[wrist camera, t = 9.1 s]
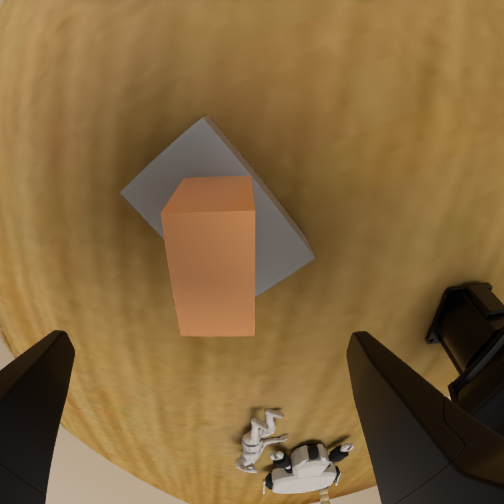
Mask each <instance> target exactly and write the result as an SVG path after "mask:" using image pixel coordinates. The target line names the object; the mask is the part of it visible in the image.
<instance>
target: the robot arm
mask: <svg viewBox="0 0 504 504" xmlns="http://www.w3.org/2000/svg"><path fill="white" fill-rule="evenodd" d="M491 290H492V285H491V284H490V283H487V284H477V285H469V286H461V287H452V288H449V289H447V290H446V292H445V294H444V297H443V299H442V302H441V304H440V307H439V309H438V312H437V314H436V317H435V319H434V321H433V324H432V326H431V328H430V331H429V333H428V335H427V337H426V342H427V344H433V343H438V342H440V343H441V345H442V346H443V348H444V350H445V351H446V353H447V354H448V356H449V358H450V359H451V361H452V363H453V364H454V366H455V368H456V369H457V371H458V373H459V374H460V376H459V377H458V378H457V379H456V380H455V381H454V382H451V383H450V384H449V385H448V389H449V393H450V397H451V400H449V399H448V398H447V397H446V396H444V395H443V394H442V393H441V392H440V391H439V390H437V389H436V388H435V387H434V386H432V385H431V384H430V383H429V382H428V381H426V380H425V379H424V378H423V377H422V376H420V375H419V374H418V373H417V372H416V371H414V370H413V369H412V368H411V367H409V366H408V365H407V364H406V363H405V362H403V361H402V360H401V359H400V358H398V357H397V356H396V355H395V354H394V353H392V352H391V351H390V350H389V349H387V348H386V347H385V346H384V345H383V344H381V343H380V342H379V341H378V340H376V339H375V338H374V337H373V336H372V335H370V334H369V333H368V332H366V331H357V332H353V333H352V335H351V338H350V342H349V345H348V348H347V362H348V367H349V373H350V378H351V384H352V390H353V396H354V400H355V404H356V408H357V411H358V415H359V418H360V422H361V425H362V429H363V432H364V436H365V440H366V443H367V447H368V451H369V455H370V458H371V462H372V466H373V470H374V474H375V478H376V482H377V486H378V490H379V494H380V498H381V503H382V504H504V305H503V304H502V302H501V301H500V300H499V299H498V298H497V297H496V296H495V295H494V294H493V293H492V292H491ZM74 357H75V350H74V347H73V345H72V343H71V341H70V339H69V336H68V334H67V333H66V332H65V331H61V330H54V331H52V332H51V333H50V334H48V335H47V336H46V337H44V338H43V339H41V340H40V341H39V342H37V343H36V344H35V345H33V346H32V347H31V348H29V349H28V350H27V351H25V352H24V353H23V354H21V355H20V356H19V357H17V358H16V359H15V360H13V361H12V362H11V363H9V364H8V365H7V366H6V367H4V368H3V369H2V370H0V504H45V501H46V493H47V485H48V479H49V473H50V467H51V462H52V457H53V451H54V447H55V442H56V437H57V433H58V429H59V424H60V420H61V416H62V412H63V408H64V405H65V401H66V397H67V393H68V388H69V383H70V377H71V372H72V367H73V362H74Z"/></svg>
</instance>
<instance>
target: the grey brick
mask: <svg viewBox="0 0 504 504" xmlns="http://www.w3.org/2000/svg"><path fill="white" fill-rule="evenodd" d="M214 176H251V180H252V188H253V196H254V204H255V297H257V296H258V295H260V294H262V293H263V292H265V291H266V290H268V289H269V288H271V287H273V286H274V285H276V284H277V283H279V282H280V281H282V280H283V279H285V278H287V277H288V276H290V275H291V274H293V273H294V272H296V271H297V270H299V269H300V268H302V267H303V266H305V265H306V264H308V263H309V262H311V261H312V260H314V259H315V256H314V253H313V251H312V249H311V246H310V244H309V242H308V240H307V238H306V237H305V235H304V234H303V233H302V231H301V230H300V229H299V227H298V226H297V225H296V223H295V222H294V221H293V219H292V218H291V217H290V215H289V214H288V213H287V212H286V210H285V209H284V208H283V206H282V205H281V204H280V203H279V201H278V200H277V199H276V197H275V196H274V195H273V194H272V192H271V191H270V190H269V189H268V187H267V186H266V185H265V183H264V182H263V181H262V180H261V178H260V177H259V176H258V175H257V173H256V172H255V171H254V170H253V169H252V167H251V166H250V165H249V164H248V162H247V161H246V160H245V159H244V157H243V156H242V155H241V154H240V153H239V151H238V150H237V149H236V148H235V147H234V145H233V144H232V143H231V142H230V141H229V139H228V138H227V137H226V136H225V135H224V133H223V132H222V131H221V130H220V129H219V127H218V126H217V125H216V124H215V123H214V122H213V120H212V119H211V118H210V117H209V116H208V115H207V116H204V117H202V118H201V119H200V120H198V121H197V122H196V123H195V124H194V125H192V126H191V127H190V128H189V129H188V130H186V131H185V132H184V133H183V134H182V135H181V136H179V137H178V138H177V139H176V140H175V141H174V142H173V143H171V144H170V145H169V146H168V147H167V148H166V149H165V150H164V151H162V152H161V153H160V154H159V155H158V156H157V157H156V158H155V159H154V160H153V161H152V162H151V163H149V164H148V165H147V166H146V167H145V168H144V169H143V170H142V171H141V172H140V173H139V174H138V175H137V176H136V177H135V178H134V179H133V180H132V181H131V182H130V183H129V184H128V185H127V186H126V187H125V188H124V189H123V190H122V191H121V192H120V194H121V195H122V196H123V197H124V198H125V199H126V200H127V201H128V202H129V203H130V204H131V205H132V207H133V208H134V209H135V210H136V211H137V212H138V213H139V214H140V215H141V216H142V217H143V218H144V219H145V220H146V221H147V222H148V224H149V225H150V226H151V227H152V228H153V229H154V230H155V231H156V232H157V233H158V234H159V235H160V236H161V237H162V238H163V239H164V235H163V228H162V220H161V212H162V210H163V209H164V207H165V206H166V204H167V203H168V201H169V200H170V198H171V197H172V195H173V194H174V192H175V191H176V189H177V188H178V186H179V185H180V183H181V182H182V180H183V179H184V178H189V177H214Z"/></svg>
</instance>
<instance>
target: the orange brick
mask: <svg viewBox="0 0 504 504" xmlns="http://www.w3.org/2000/svg"><path fill="white" fill-rule="evenodd" d="M161 220H162V228H163V235H164V243H165V250H166V256H167V263H168V269H169V275H170V281H171V287H172V293H173V298H174V304H175V309H176V314H177V319H178V324H179V329H180V334H181V336H255V204H254V196H253V188H252V180H251V176H214V177H189V178H184V179H183V180H182V182H181V183H180V185H179V186H178V188H177V189H176V191H175V192H174V194H173V195H172V197H171V198H170V200H169V201H168V203H167V204H166V206H165V207H164V209H163V210H162V212H161Z"/></svg>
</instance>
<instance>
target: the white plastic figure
mask: <svg viewBox="0 0 504 504" xmlns="http://www.w3.org/2000/svg"><path fill="white" fill-rule="evenodd" d="M265 414H266V422H264V421H260V420H258V419H257V418H252V419H251V424H252V430H250V431H249V432H248V433H246V434H245V435H244V436H243V438H242V444H243V450H242V453H241V455H240V457H239V458H237V459H236V460H235V464H236V466H235V467H237V468H238V469H240V470H242V471H244V472H250V473H258V472H257V470H256V469H255V466H254V464H253V463H255V461H257V460H258V458H259V457H260V455H261V453H262V451H263V449H264V448H265V447H266V445H267V444H271V443H277V442H284V441H286V440H287V439H288V438H289V436H288V437H287V438H284V437H283V436H284V435H282V436H281V437H280V438H278V437H276V438H275V437H274V438H268V439H264V440H263V439H262V437H267V436H269V435H271V434H273V433H274V432H275V430H276V423H275V422H274V420H273V417H278V418H282V417H283V416H284V415H283V413H282V412H280V411H278V410H272V409H265Z"/></svg>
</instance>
